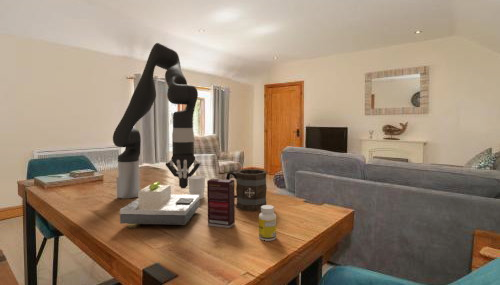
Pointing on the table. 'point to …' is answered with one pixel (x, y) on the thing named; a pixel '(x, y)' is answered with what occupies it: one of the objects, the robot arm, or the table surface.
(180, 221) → the grey tray
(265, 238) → the supplement bottle
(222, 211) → the supplement box
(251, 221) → the table surface
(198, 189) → the white cup
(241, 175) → the mug
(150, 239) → the table surface
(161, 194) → the plate
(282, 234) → the table surface
